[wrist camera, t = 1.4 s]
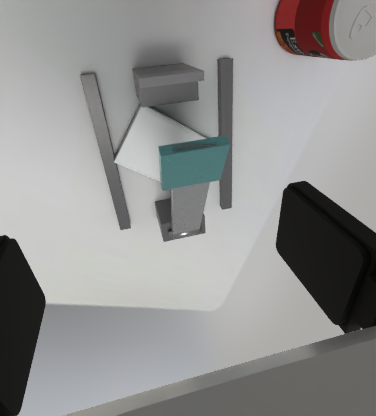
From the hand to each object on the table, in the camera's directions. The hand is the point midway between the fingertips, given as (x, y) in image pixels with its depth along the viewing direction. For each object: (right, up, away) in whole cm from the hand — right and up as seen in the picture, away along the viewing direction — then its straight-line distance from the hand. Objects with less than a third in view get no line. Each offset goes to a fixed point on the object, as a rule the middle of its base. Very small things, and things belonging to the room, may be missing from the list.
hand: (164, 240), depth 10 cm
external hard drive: (-2, +9, +28) cm, 30 cm away
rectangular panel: (+1, +2, +20) cm, 20 cm away
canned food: (+15, +24, +24) cm, 37 cm away
